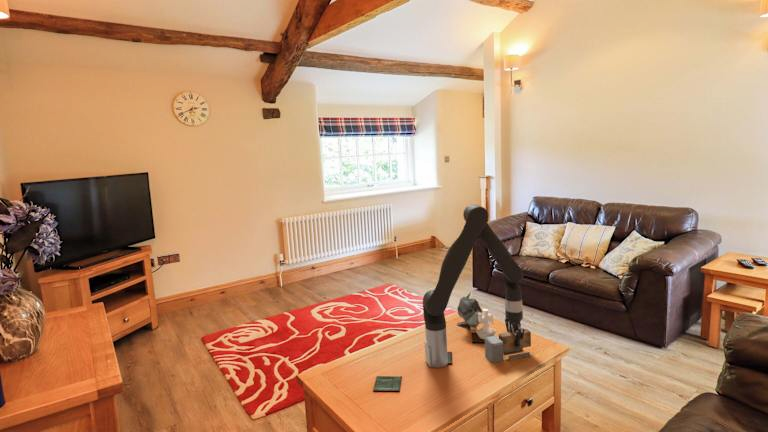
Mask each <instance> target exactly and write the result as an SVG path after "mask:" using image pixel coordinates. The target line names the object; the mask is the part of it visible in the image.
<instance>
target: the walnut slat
mask: <svg viewBox="0 0 768 432" xmlns="http://www.w3.org/2000/svg"><path fill="white" fill-rule="evenodd" d="M524 330H525V331H524V335H523V339H520V346H519V347H515V344H514V339H515V338H514V334H513V332H507V331H506V332H501V333H498V338H499V339H500V340H501V341H502V342H503V351H509V350H514V349H519V348H523V349H524V348H529V347H531V346H532V340H531V339H532V337H531V336H532V334H531V332H532V331H530V330H529V329H528V328H524ZM515 332H517V331H515ZM516 336H517V334H516Z"/></svg>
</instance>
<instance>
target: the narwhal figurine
mask: <svg viewBox="0 0 768 432" xmlns="http://www.w3.org/2000/svg"><path fill="white" fill-rule="evenodd" d="M471 293H472V292H469V293H468V294H467V295H466V296H463V297H461V298H460V300H459V303H458V306H457V309H456V310H457V314H458V316H459V317H460V318H462V320H463V321H460V322H457V323H456V325H457V326H469V328H470V331H469V332H471V333H476V331H477V330H478V328H477V327H479V325H481V324H480V323H479V322H478V313H482V308H481V307H480V304H479V302H478V300H477V299H475V298H470V295H471Z"/></svg>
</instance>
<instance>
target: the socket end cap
mask: <svg viewBox="0 0 768 432" xmlns="http://www.w3.org/2000/svg"><path fill="white" fill-rule="evenodd" d="M484 355H485V357H486V359H488V360H489V361H490V362H491V364H494V363H495V364H496V363H499V362H504V354H503V342H502V341H501V340H500V339H499V336H497V335H494V336H491V337H485V340H484Z"/></svg>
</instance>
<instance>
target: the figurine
mask: <svg viewBox="0 0 768 432" xmlns="http://www.w3.org/2000/svg"><path fill="white" fill-rule="evenodd" d="M481 310H482V313H478V322H479V323H480V324H479V325H481V324H482V327H481V328H479V329H477V331H476V332H475V333H476V334H477V335H478V338H479V339H482V340H484V341H485V337H491V336H495V335H496V332H497V330H495V329H493V328H490V327H489V325H493V324H494V317H493V314H492V313H489V309H487V308H484V307H483V308H481Z"/></svg>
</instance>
